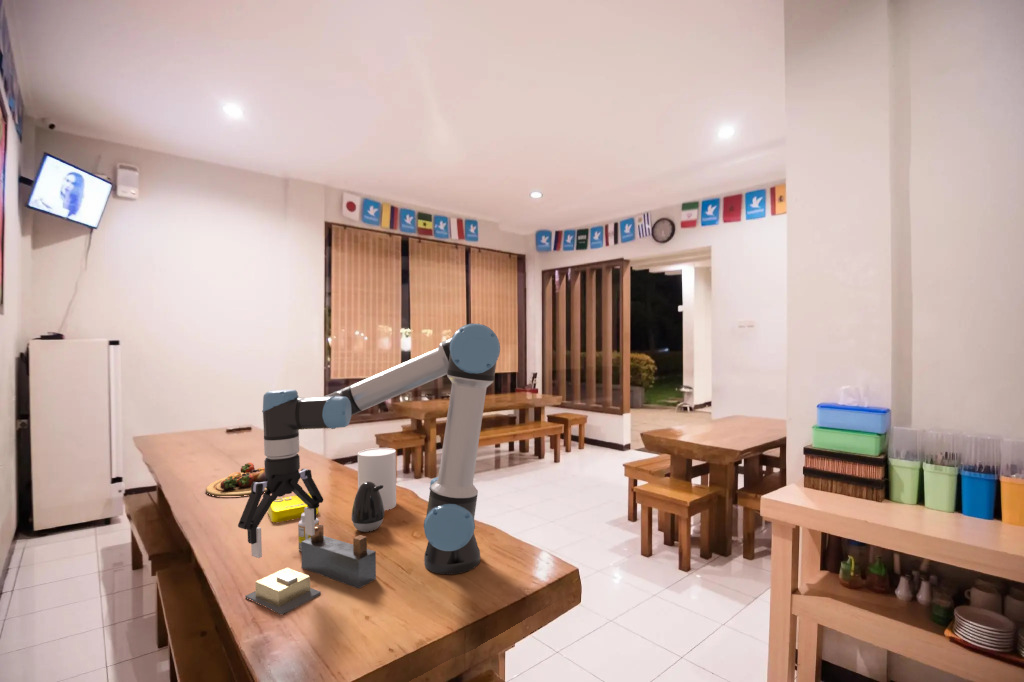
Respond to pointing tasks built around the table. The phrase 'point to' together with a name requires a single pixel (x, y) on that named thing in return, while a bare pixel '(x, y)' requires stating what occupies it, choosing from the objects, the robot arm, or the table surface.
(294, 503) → the element tile
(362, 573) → the plane body
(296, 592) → the lever cap
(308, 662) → the table surface
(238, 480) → the wooden plate with food
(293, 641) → the table surface
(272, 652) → the table surface
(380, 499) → the pump dispenser
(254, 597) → the rubber mat
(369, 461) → the canister
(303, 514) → the supplement bottle
